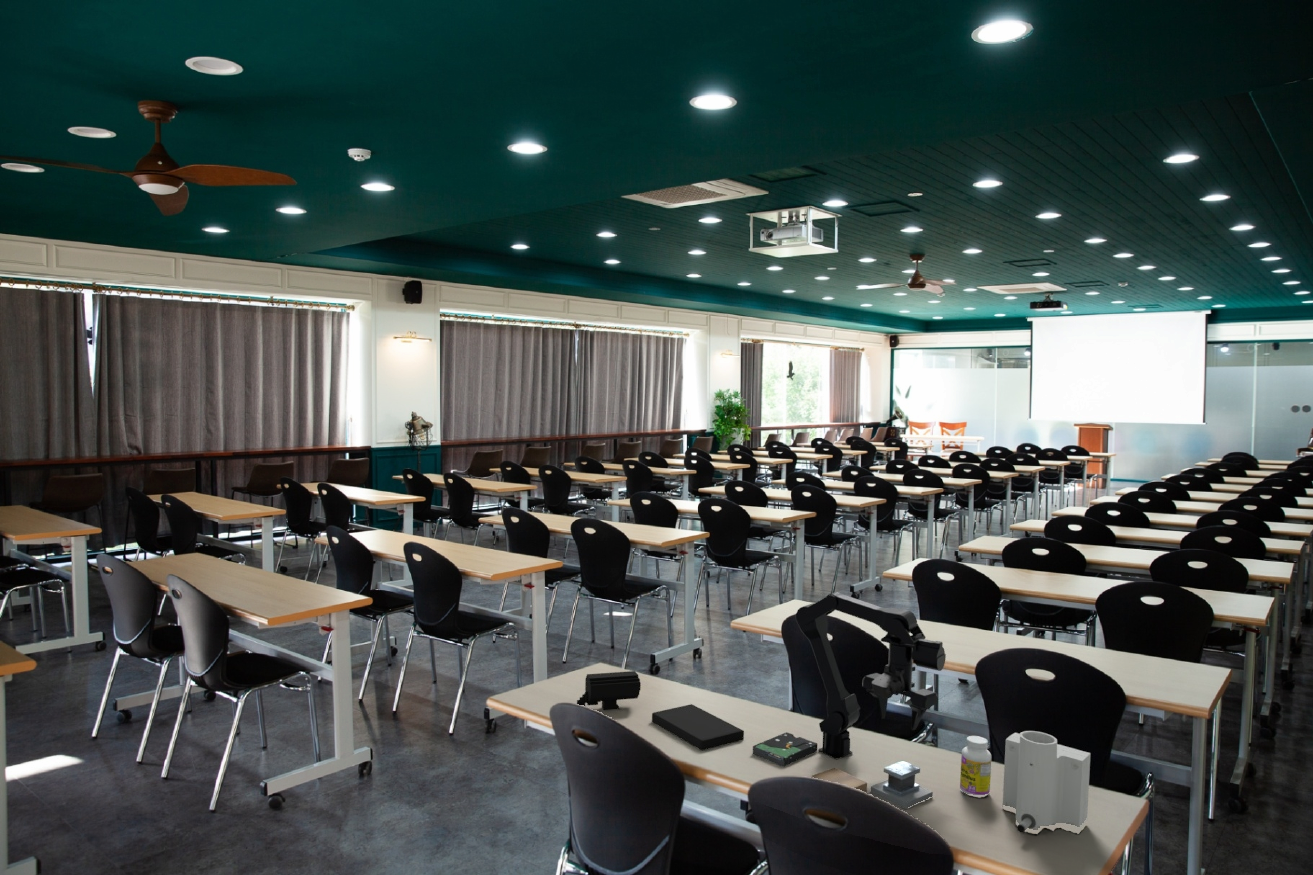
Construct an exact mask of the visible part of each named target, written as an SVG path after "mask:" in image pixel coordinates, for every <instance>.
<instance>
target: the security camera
mask: <svg viewBox="0 0 1313 875" xmlns="http://www.w3.org/2000/svg"><path fill="white" fill-rule="evenodd" d="M584 685H585V686H584V687H585V688H584V690H585V691H584V694H581V695H582V696H579V699H577V700H576V704H579V705H584V706H597V705H599V703H601V708H602V710H603V711H612V710H615V711H616V710H620V706H619V704H618V703H617V701H621V700H622V701H623V700H633V699H638V698H639V696H640V691H641V688H642V687H641V679H640V677H639V674H638V672H637V671H635V670H632V671H631V670H630V671H614V672H601V673H587V674H586V676H585V684H584Z"/></svg>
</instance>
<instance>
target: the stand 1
mask: <svg viewBox="0 0 1313 875" xmlns="http://www.w3.org/2000/svg"><path fill="white" fill-rule="evenodd" d="M812 777H814V778H818V779H823V780H828V781H831V782H838V783H840V784H846V785H847V786H849V787H854V788H856V789H860V790H862V791H866V792H868V782H867V781H865V780H863V779H860V778H858V777H856V776H853V775H851V774H849V773H847V772H845V771H843V770H840V769H838V768H836V767H832V768H829V769H827V770H823V771H821V772H818V773H816V774H812V775H811V778H812Z"/></svg>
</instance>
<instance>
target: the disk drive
mask: <svg viewBox="0 0 1313 875" xmlns="http://www.w3.org/2000/svg"><path fill="white" fill-rule="evenodd" d="M817 752H818V743H817V742H814V741H812V740H809V739H807V738H803V737H802V736H799V737H798V736H797V737H795V736H794V734H793V733H790V732H787V731H786V732H784V733H781V734H778V735H776V736H775V737H772V738H769V739H766V740H764V741H762V742H759V743H757V744H755V745H753V746H752V755H754V756H756V757H759V758H760V759H762V760H766V761H769V762H771V763H772V764H776V765H778V766H780V767H786V766H789V765H790V764H793V763H795V762H798V761H799V760H801V759H804V758H806V757H808V756H810V755H814V754H815V753H817Z"/></svg>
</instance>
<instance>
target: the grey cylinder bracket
mask: <svg viewBox="0 0 1313 875" xmlns="http://www.w3.org/2000/svg"><path fill="white" fill-rule="evenodd" d="M1004 748H1005V749H1004V751H1005V752H1004V753H1005V754H1004V767H1003V768H1004V769H1003V770H1004V771H1003V788H1002V792H1003V793H1002V806H1003V805H1005V806H1010V807H1013V808H1015V809H1016V814H1015V817H1014V818H1016V820H1017V822H1018V823H1019V825H1018V826H1017V827H1016V829H1017V831H1018V832H1019V833H1022V834H1023V833H1024V831H1025V830H1026V829H1027V828H1029V829H1033V830H1038V828H1040V826H1049V825H1055V824H1056V823H1066V824H1071V825H1075V826H1077V827H1080V825H1082V823H1084V821H1085V820H1086V818H1087V819H1088V806H1089V789H1090V787H1089V786H1090V770H1091V768H1090V767H1091V752H1087V751H1083V750H1080V749H1077V748H1074V747H1069V746H1065V745H1063V744H1060V743H1059V744H1058V739H1057V738H1056V737H1055V736H1053V735H1051V734H1048V733H1046V732H1042V731H1035V730H1024V731H1022V732H1020V733H1018V732H1014V733H1012V734H1010V735H1009V736H1008V737H1006V739H1005V747H1004Z"/></svg>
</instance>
